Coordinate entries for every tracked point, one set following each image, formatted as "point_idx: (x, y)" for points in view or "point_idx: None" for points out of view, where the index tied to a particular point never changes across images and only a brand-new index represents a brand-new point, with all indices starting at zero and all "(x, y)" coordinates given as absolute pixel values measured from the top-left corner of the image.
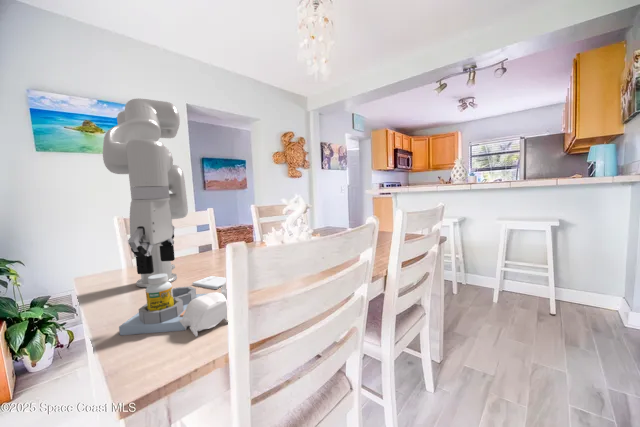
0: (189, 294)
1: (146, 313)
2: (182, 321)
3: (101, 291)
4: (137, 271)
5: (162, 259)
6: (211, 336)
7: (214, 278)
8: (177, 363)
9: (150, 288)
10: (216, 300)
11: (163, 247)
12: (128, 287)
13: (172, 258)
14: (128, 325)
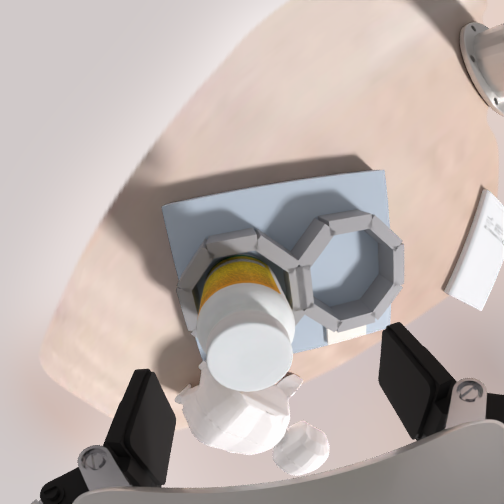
0: (332, 330)
1: (178, 296)
2: (200, 369)
3: None
4: (133, 376)
5: (385, 342)
6: None
7: (500, 243)
8: (109, 394)
9: (202, 332)
10: (233, 450)
11: (421, 404)
12: (451, 10)
13: (383, 388)
14: (170, 231)
